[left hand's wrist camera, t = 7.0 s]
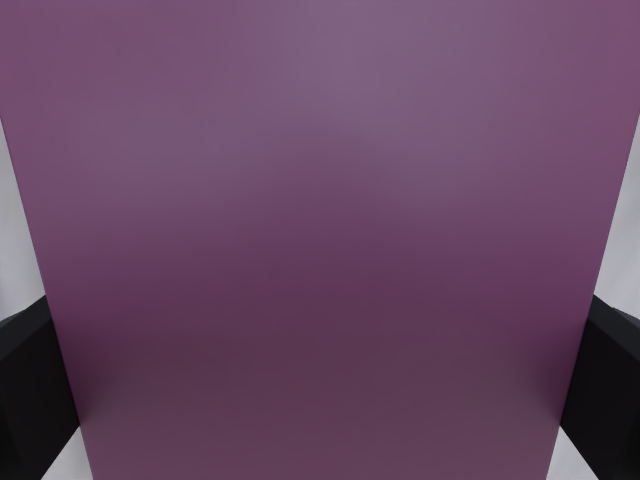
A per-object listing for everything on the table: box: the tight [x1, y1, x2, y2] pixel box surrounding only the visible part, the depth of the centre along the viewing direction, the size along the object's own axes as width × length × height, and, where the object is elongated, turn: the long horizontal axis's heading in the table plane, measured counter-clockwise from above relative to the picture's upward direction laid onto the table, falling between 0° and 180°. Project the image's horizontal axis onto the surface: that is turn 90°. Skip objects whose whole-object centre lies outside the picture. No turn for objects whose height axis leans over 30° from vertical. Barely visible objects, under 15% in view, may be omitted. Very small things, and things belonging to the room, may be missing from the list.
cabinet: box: [0, 0, 640, 480], centre depth 12 cm, size 21×11×11 cm, turn 0°
